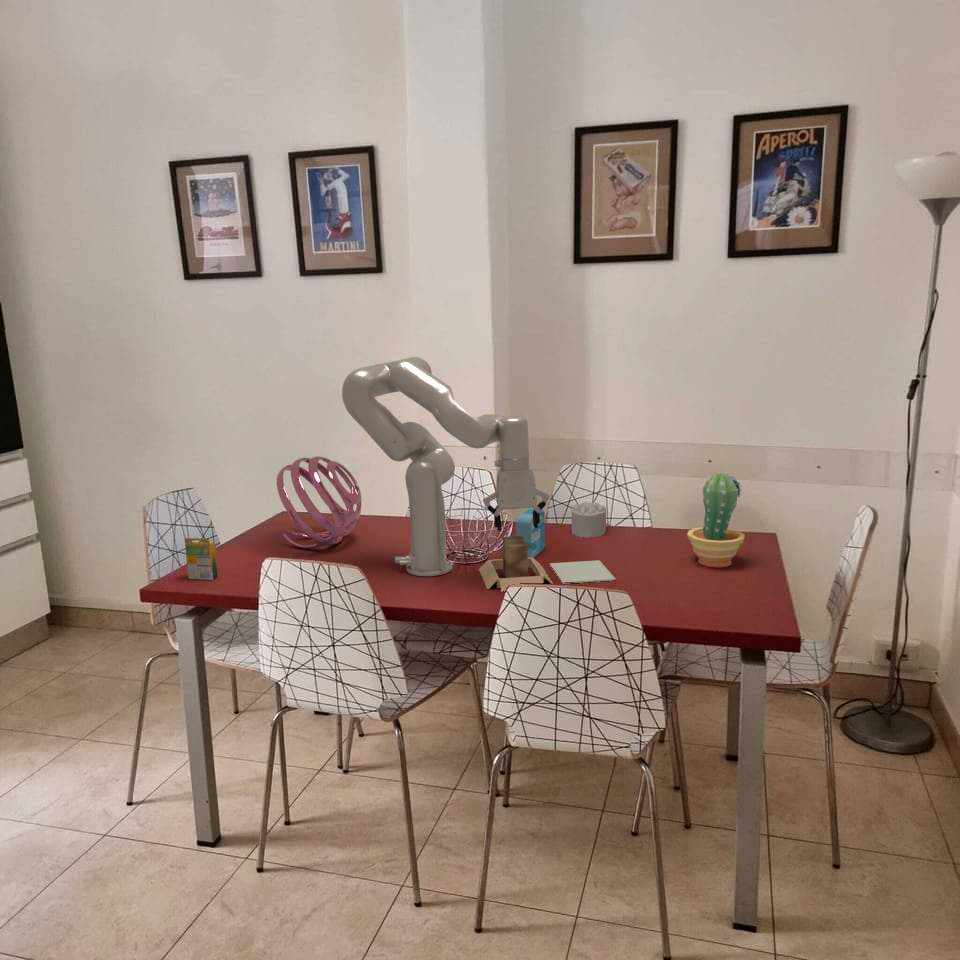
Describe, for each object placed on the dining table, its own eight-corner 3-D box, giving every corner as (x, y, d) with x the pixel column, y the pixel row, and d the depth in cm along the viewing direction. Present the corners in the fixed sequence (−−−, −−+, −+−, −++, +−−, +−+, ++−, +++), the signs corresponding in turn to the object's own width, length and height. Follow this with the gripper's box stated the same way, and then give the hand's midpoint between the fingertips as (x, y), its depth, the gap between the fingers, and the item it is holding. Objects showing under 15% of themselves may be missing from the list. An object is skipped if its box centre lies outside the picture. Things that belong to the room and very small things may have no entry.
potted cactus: (749, 571, 235) (754, 479, 229) (691, 571, 236) (694, 479, 230) (737, 553, 250) (741, 467, 244) (681, 553, 251) (684, 467, 246)
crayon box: (218, 576, 240) (214, 535, 237) (213, 580, 237) (209, 538, 234) (193, 575, 241) (189, 535, 239) (188, 579, 238) (183, 538, 236)
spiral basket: (233, 486, 259) (304, 435, 252) (283, 488, 285) (348, 442, 279) (277, 569, 253) (350, 519, 247) (323, 563, 280) (391, 518, 273)
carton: (488, 593, 223) (488, 583, 222) (477, 567, 243) (477, 557, 243) (556, 588, 225) (556, 578, 224) (539, 563, 245) (539, 553, 245)
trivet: (562, 584, 228) (562, 582, 228) (549, 565, 243) (549, 563, 243) (615, 581, 229) (615, 578, 229) (599, 562, 245) (599, 560, 245)
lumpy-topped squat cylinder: (607, 527, 280) (607, 500, 278) (602, 538, 267) (603, 511, 266) (574, 525, 282) (574, 499, 280) (568, 537, 270) (568, 509, 268)
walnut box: (508, 583, 229) (508, 546, 227) (503, 572, 238) (502, 536, 236) (528, 582, 230) (527, 545, 228) (522, 571, 239) (521, 535, 236)
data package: (531, 560, 248) (530, 519, 245) (516, 558, 250) (515, 517, 247) (545, 548, 259) (544, 508, 256) (530, 546, 261) (530, 507, 258)
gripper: (483, 469, 223) (486, 534, 226) (550, 464, 225) (552, 529, 228) (479, 463, 230) (482, 527, 233) (544, 459, 232) (546, 522, 235)
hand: (517, 528), depth 231 cm, fingers open, 9 cm apart
